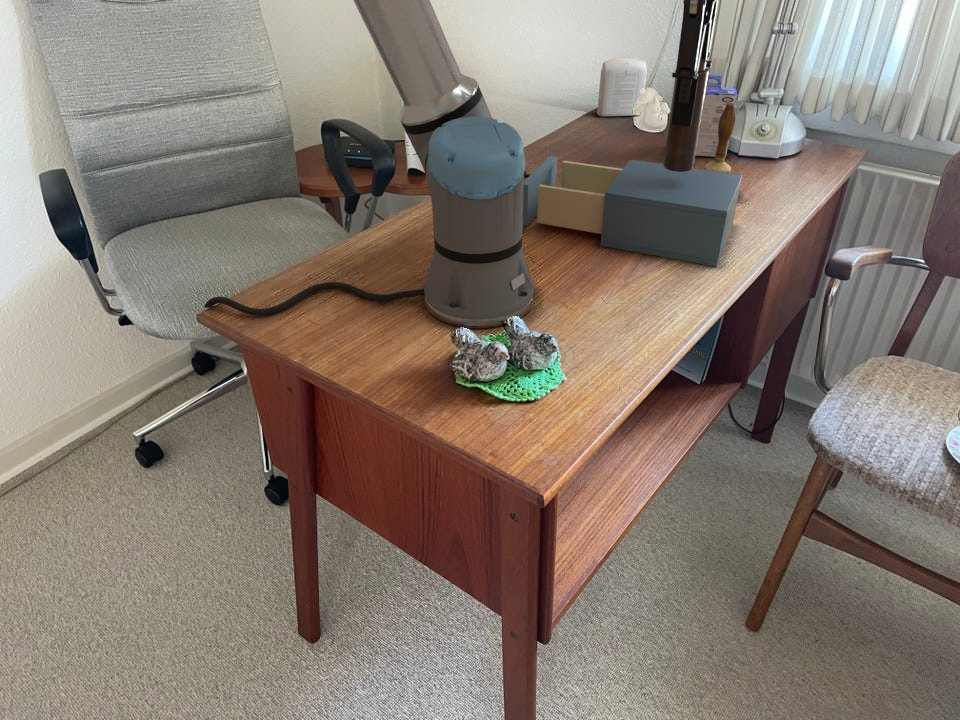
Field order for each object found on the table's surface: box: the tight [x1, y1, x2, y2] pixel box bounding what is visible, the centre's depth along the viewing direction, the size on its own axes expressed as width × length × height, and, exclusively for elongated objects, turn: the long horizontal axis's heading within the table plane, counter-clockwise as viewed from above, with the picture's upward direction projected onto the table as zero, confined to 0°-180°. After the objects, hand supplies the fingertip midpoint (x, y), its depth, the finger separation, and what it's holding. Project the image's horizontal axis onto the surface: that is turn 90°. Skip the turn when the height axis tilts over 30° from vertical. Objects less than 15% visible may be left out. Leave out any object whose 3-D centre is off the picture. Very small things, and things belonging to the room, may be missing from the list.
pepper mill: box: [662, 58, 709, 172], centre depth 104 cm, size 4×4×16 cm
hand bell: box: [703, 103, 737, 173], centre depth 124 cm, size 8×8×16 cm
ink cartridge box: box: [695, 74, 738, 158], centre depth 142 cm, size 10×6×14 cm, turn 78°
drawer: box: [523, 155, 624, 235], centre depth 119 cm, size 21×14×7 cm, turn 66°
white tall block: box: [596, 56, 647, 117], centre depth 163 cm, size 10×4×12 cm, turn 93°
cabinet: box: [599, 159, 743, 267], centre depth 113 cm, size 18×15×9 cm
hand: (685, 119), depth 105 cm, fingers closed on pepper mill, 4 cm apart
